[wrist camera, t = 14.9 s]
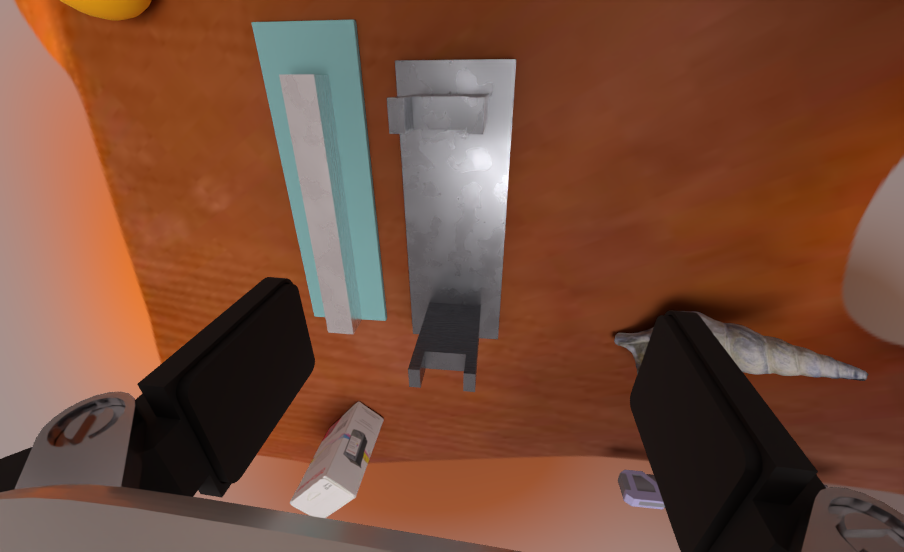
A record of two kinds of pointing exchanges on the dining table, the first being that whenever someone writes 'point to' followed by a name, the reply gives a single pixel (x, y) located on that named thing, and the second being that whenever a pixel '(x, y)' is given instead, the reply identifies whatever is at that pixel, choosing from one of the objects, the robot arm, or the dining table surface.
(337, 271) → the rail
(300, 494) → the ink box
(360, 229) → the mat
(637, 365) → the seashell
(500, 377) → the dining table surface
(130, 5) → the yellow orange fruit
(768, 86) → the dining table surface
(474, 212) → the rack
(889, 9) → the dining table surface
